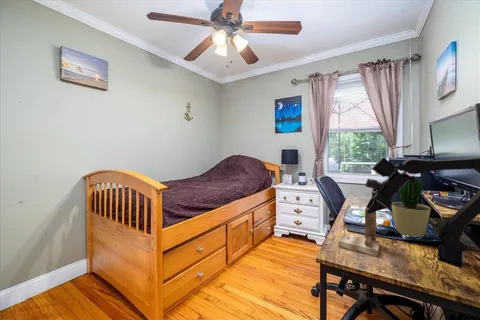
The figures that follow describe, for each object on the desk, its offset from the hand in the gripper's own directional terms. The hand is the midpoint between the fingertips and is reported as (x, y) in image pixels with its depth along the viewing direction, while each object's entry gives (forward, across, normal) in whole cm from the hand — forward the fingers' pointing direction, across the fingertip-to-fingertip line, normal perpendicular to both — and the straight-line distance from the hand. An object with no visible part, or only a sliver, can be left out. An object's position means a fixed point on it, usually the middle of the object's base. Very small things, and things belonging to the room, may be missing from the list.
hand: (367, 210), depth 94 cm
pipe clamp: (+10, -25, +15) cm, 31 cm away
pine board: (+15, +3, +7) cm, 17 cm away
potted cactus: (+2, -23, +25) cm, 34 cm away
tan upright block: (+13, 0, +10) cm, 16 cm away
